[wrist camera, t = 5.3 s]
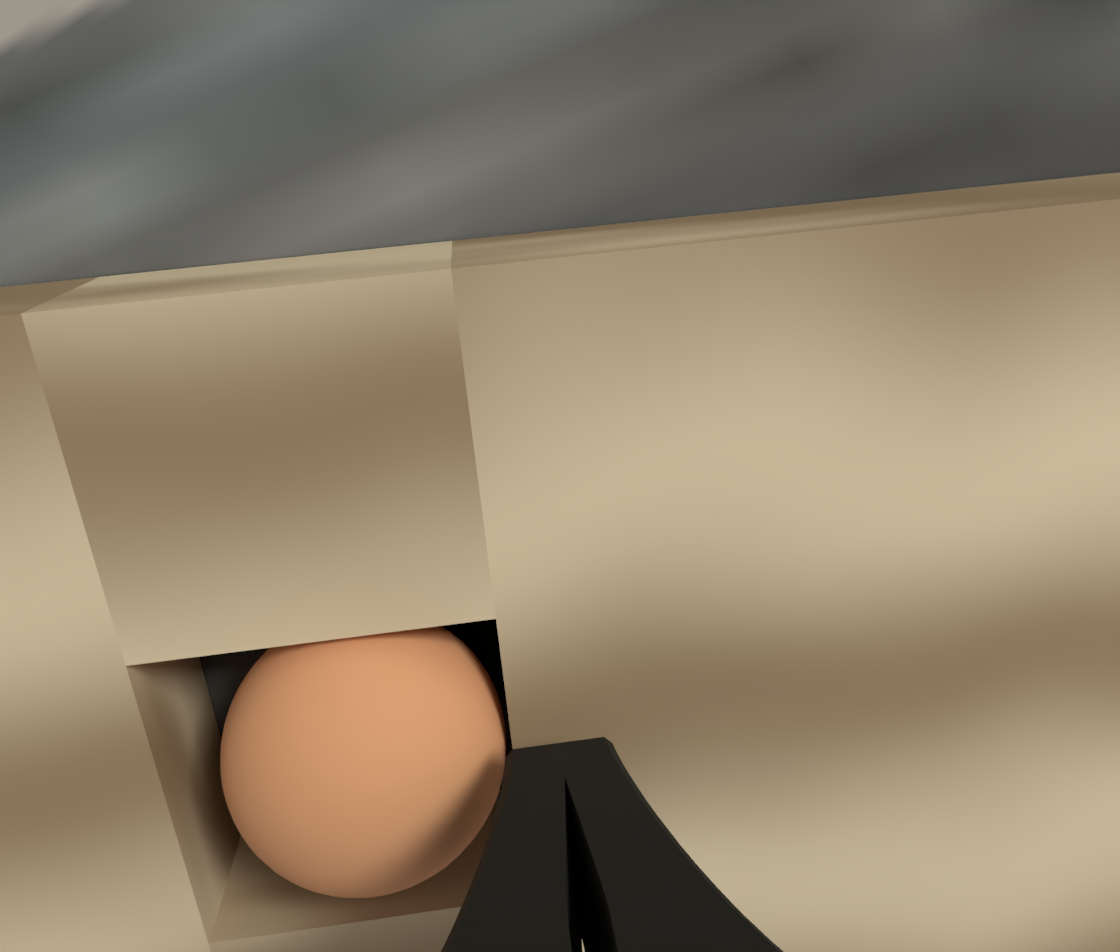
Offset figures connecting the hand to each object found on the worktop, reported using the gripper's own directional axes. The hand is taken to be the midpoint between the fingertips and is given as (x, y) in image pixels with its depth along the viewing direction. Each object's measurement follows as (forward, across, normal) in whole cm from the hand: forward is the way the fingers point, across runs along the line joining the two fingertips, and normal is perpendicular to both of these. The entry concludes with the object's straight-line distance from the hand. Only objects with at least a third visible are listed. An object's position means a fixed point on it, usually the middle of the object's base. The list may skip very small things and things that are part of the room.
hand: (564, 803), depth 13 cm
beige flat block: (+3, -1, 0) cm, 4 cm away
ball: (+1, +3, 0) cm, 3 cm away
